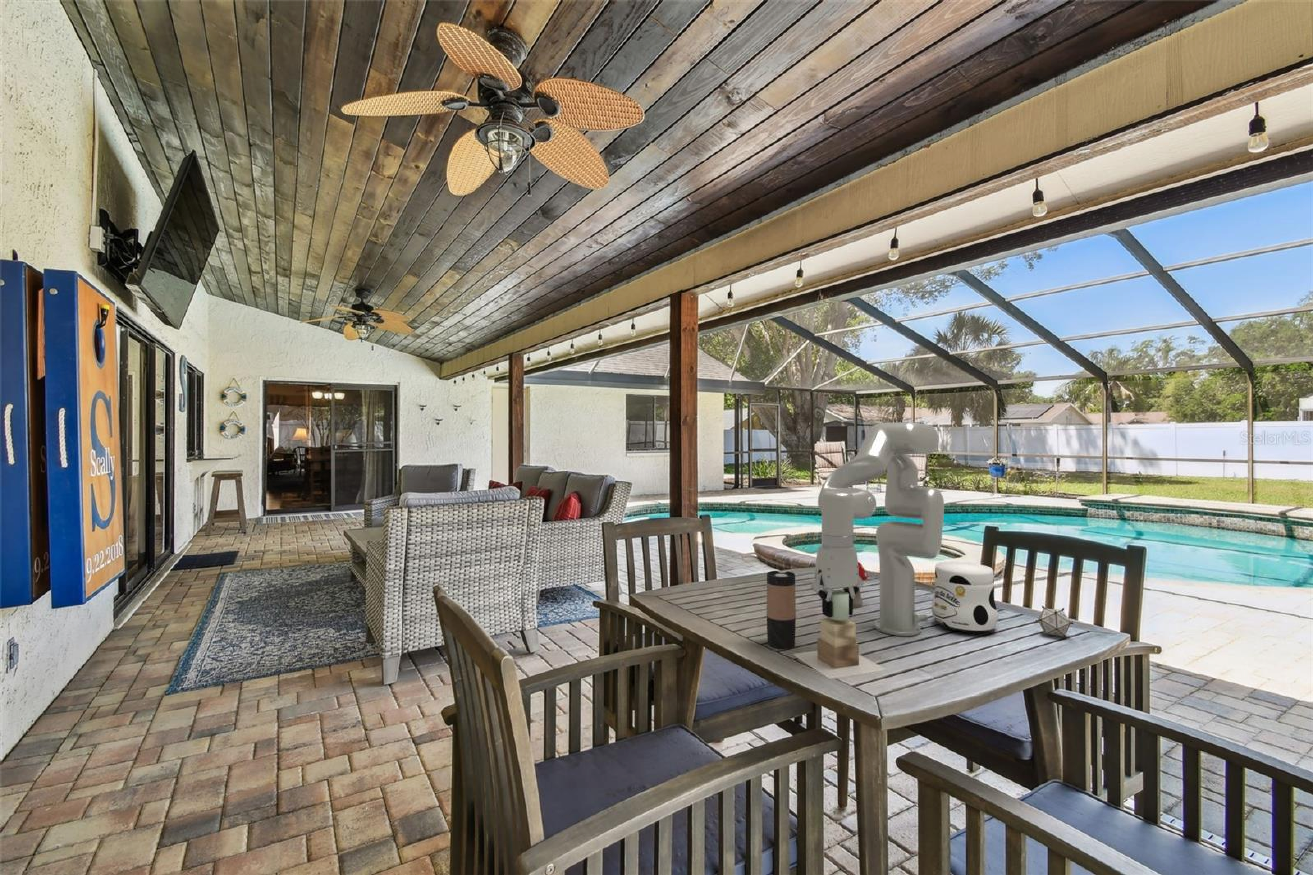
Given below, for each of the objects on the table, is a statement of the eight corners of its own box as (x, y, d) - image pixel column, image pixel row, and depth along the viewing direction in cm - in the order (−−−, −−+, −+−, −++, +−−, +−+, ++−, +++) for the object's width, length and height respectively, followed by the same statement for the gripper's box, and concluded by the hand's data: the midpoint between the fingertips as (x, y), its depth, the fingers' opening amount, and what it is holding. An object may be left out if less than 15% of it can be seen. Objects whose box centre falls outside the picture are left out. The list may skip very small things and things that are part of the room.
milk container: (923, 628, 170) (923, 567, 170) (941, 615, 183) (941, 558, 183) (990, 642, 158) (990, 576, 158) (1003, 626, 171) (1003, 566, 171)
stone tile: (844, 650, 152) (844, 646, 152) (886, 673, 137) (886, 669, 137) (792, 658, 147) (792, 654, 147) (829, 683, 132) (829, 678, 132)
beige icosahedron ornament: (1058, 647, 164) (1077, 619, 164) (1064, 646, 157) (1084, 616, 157) (1025, 627, 169) (1044, 599, 169) (1030, 624, 161) (1050, 595, 162)
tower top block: (840, 636, 146) (840, 616, 146) (855, 644, 140) (855, 623, 140) (820, 638, 144) (820, 618, 144) (834, 647, 138) (834, 626, 138)
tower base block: (841, 654, 147) (840, 635, 147) (858, 665, 140) (858, 644, 140) (817, 658, 144) (817, 638, 144) (834, 668, 138) (834, 648, 138)
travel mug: (779, 655, 149) (779, 578, 149) (760, 646, 156) (760, 572, 156) (801, 650, 152) (801, 575, 152) (783, 641, 159) (782, 569, 159)
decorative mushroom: (873, 608, 190) (873, 563, 190) (849, 610, 188) (849, 564, 188) (857, 600, 199) (857, 556, 199) (834, 601, 198) (834, 557, 198)
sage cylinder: (840, 613, 145) (840, 589, 145) (853, 619, 140) (853, 594, 140) (822, 615, 144) (822, 591, 144) (835, 621, 139) (835, 596, 139)
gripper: (856, 537, 148) (856, 607, 148) (799, 540, 143) (799, 613, 143) (876, 542, 141) (876, 615, 141) (816, 546, 136) (816, 623, 136)
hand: (837, 614), depth 142 cm, fingers closed on sage cylinder, 5 cm apart
